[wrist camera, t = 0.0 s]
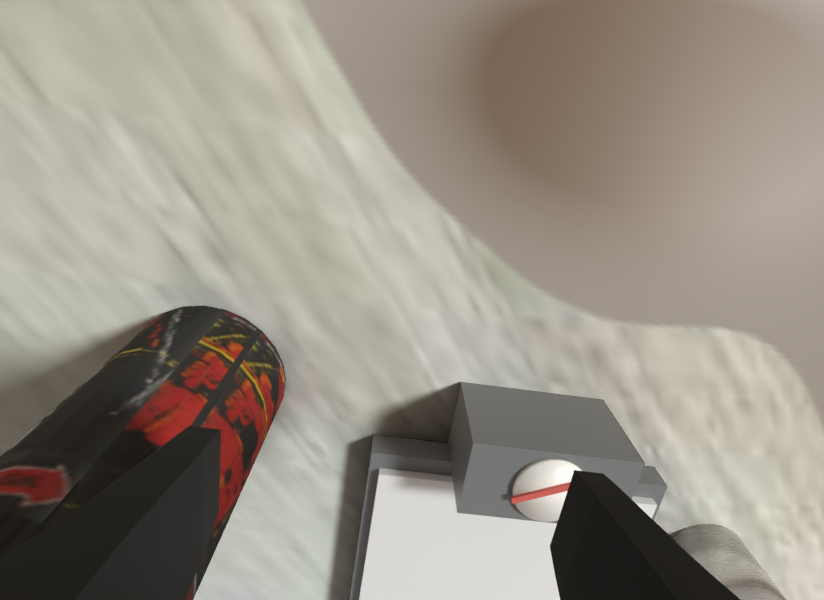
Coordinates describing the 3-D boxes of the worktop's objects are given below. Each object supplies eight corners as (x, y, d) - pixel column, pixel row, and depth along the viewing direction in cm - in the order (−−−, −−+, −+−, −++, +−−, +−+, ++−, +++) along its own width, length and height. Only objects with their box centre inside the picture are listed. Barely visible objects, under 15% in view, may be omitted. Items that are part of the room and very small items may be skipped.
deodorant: (266, 452, 22) (4, 1068, 8) (125, 411, 22) (-413, 1005, 8) (302, 334, 20) (27, 907, 6) (147, 284, 19) (-554, 800, 5)
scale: (587, 640, 27) (619, 736, 23) (345, 618, 26) (335, 714, 22) (676, 409, 22) (739, 479, 18) (382, 372, 21) (377, 437, 17)
